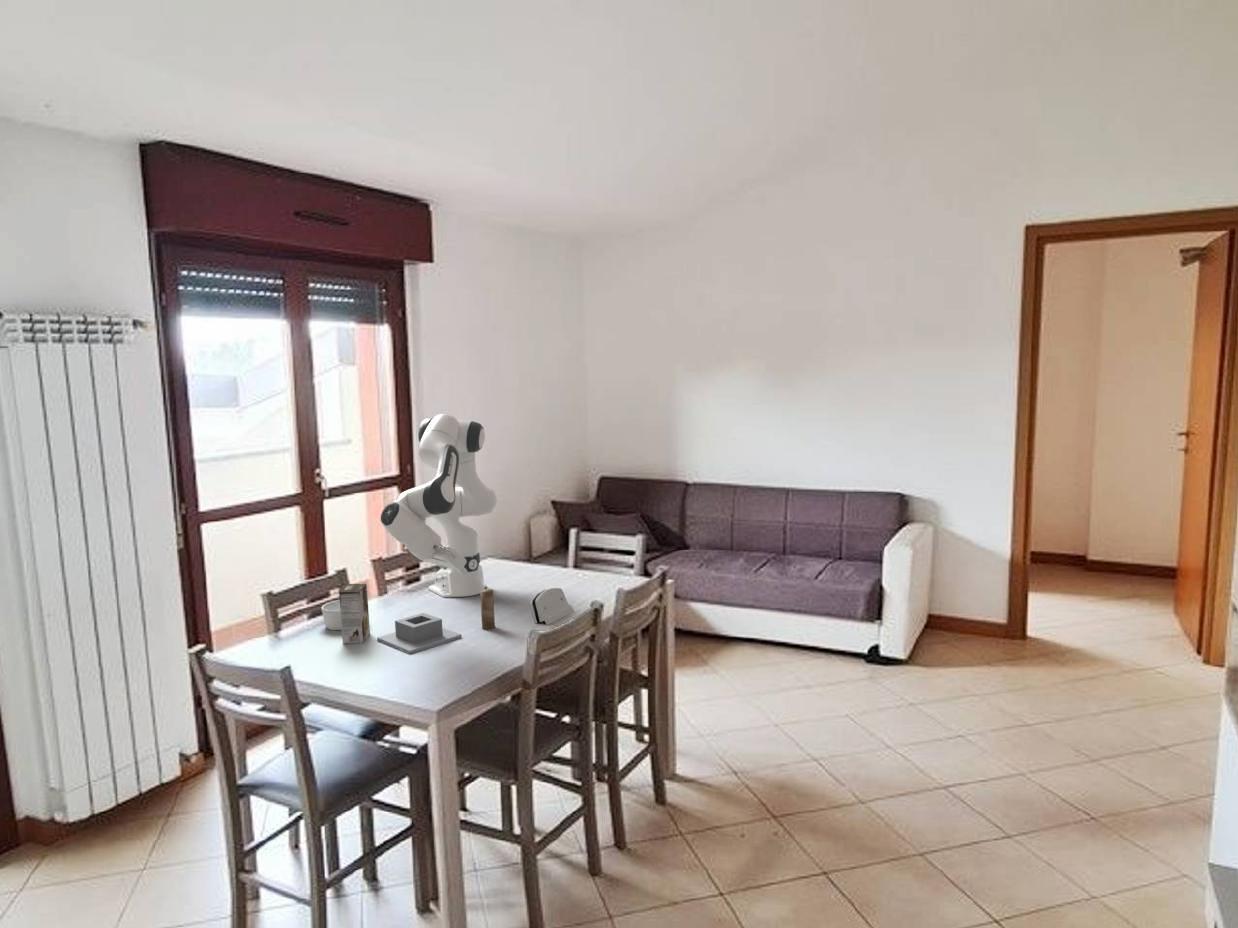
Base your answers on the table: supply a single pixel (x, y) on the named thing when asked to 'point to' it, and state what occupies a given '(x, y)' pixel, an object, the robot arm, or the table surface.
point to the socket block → (418, 633)
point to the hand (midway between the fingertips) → (455, 570)
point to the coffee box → (354, 613)
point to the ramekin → (332, 615)
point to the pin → (487, 609)
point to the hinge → (549, 606)
